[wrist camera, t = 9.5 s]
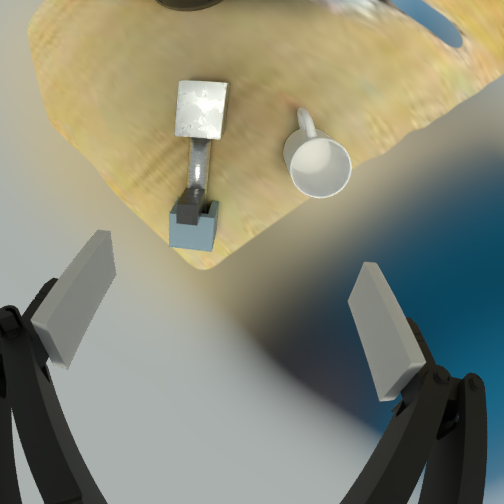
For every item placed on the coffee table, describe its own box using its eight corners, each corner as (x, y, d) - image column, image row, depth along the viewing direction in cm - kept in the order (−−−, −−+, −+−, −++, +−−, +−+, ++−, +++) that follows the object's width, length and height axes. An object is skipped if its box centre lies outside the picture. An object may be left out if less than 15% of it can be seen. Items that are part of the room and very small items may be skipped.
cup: (289, 180, 48) (298, 204, 39) (270, 111, 42) (274, 118, 33) (337, 169, 46) (356, 190, 38) (321, 99, 40) (339, 104, 32)
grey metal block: (188, 80, 39) (179, 80, 33) (230, 83, 39) (226, 82, 34) (184, 128, 43) (174, 135, 38) (224, 132, 43) (220, 139, 38)
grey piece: (193, 127, 42) (179, 138, 34) (213, 129, 42) (204, 140, 34) (187, 213, 50) (175, 241, 42) (205, 215, 50) (197, 244, 42)
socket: (178, 197, 49) (169, 213, 44) (218, 201, 50) (214, 218, 44) (177, 228, 52) (169, 246, 47) (216, 232, 53) (211, 251, 47)
